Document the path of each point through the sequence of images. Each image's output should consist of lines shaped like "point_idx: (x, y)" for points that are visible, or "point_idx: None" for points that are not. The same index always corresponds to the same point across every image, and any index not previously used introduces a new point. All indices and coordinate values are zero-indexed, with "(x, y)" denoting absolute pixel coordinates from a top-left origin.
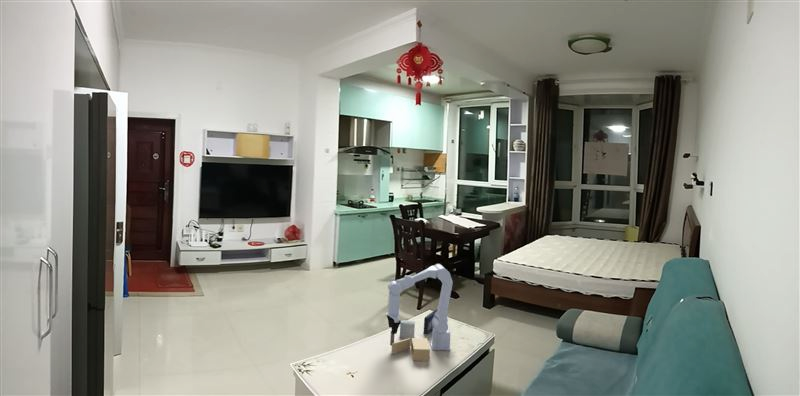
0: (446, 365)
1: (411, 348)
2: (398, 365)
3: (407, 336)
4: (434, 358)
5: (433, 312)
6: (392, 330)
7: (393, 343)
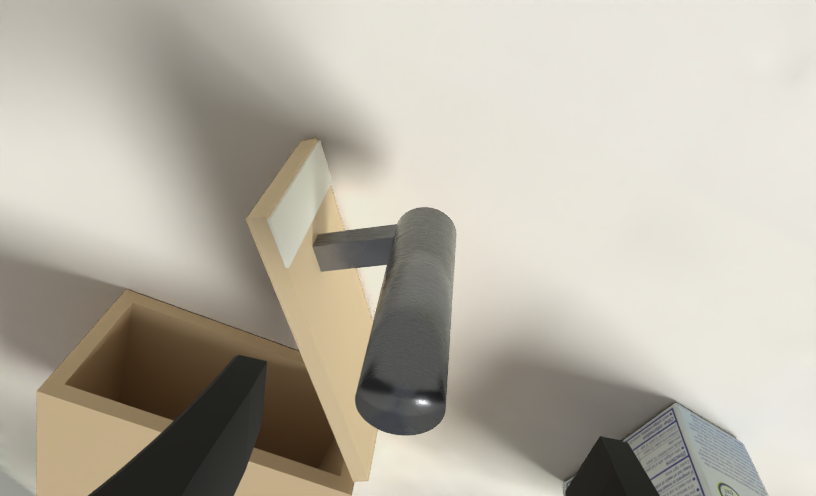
0: None
1: None
2: (23, 96)
3: None
4: None
5: None
6: (176, 424)
7: (261, 241)
